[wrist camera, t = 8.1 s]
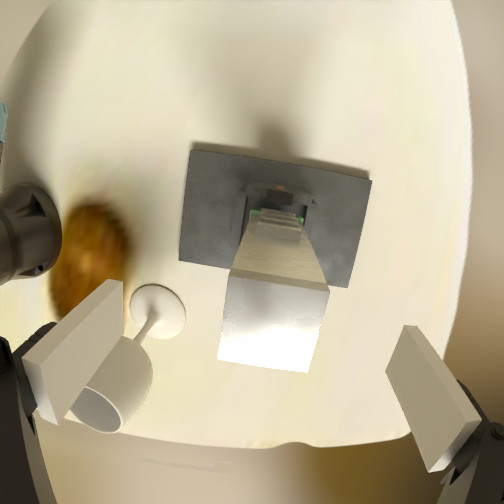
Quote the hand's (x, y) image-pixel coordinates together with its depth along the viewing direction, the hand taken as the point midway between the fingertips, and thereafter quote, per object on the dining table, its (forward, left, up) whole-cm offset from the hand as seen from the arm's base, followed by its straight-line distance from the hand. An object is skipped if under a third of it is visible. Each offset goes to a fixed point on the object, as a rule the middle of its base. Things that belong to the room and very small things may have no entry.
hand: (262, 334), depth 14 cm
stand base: (0, 0, -27) cm, 27 cm away
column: (0, 0, -20) cm, 20 cm away
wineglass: (-14, -16, -27) cm, 34 cm away
